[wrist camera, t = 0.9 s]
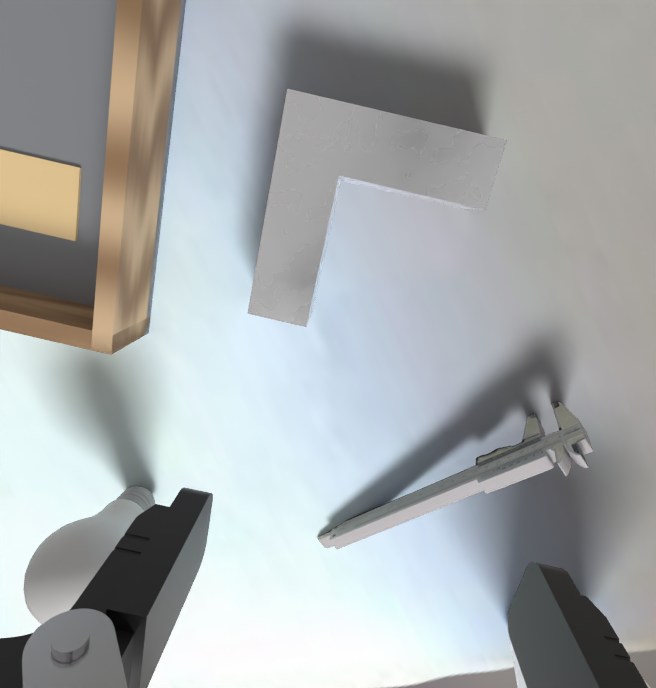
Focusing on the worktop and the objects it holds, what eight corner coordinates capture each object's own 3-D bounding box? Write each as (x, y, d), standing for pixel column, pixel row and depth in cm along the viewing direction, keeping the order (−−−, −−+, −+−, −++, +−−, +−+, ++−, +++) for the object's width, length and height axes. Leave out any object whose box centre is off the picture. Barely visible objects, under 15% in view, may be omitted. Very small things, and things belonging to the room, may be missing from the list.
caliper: (555, 397, 31) (603, 441, 25) (562, 409, 31) (612, 455, 25) (317, 535, 36) (309, 600, 29) (325, 544, 36) (319, 612, 30)
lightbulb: (92, 503, 36) (-19, 626, 25) (123, 444, 34) (19, 549, 23) (161, 540, 36) (82, 675, 26) (195, 484, 35) (125, 604, 24)
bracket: (296, 106, 27) (287, 88, 23) (485, 150, 27) (507, 140, 23) (261, 300, 30) (247, 313, 26) (428, 339, 30) (439, 357, 27)
